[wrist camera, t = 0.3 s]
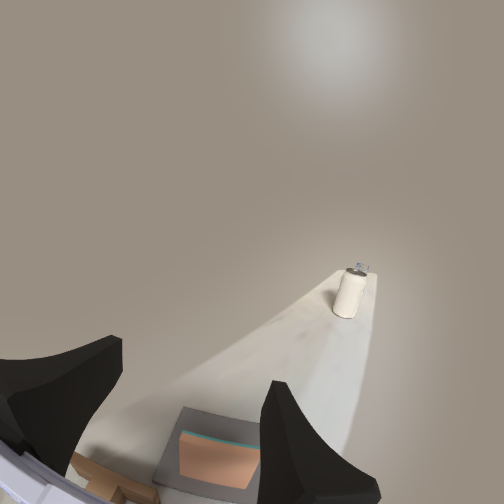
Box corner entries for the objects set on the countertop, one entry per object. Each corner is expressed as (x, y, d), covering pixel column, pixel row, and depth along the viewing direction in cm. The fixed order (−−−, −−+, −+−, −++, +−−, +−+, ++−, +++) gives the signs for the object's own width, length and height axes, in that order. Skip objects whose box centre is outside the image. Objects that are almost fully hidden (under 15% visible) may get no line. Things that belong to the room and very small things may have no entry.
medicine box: (360, 294, 85) (368, 270, 82) (348, 291, 86) (355, 266, 84) (362, 288, 92) (369, 265, 89) (350, 284, 93) (357, 262, 91)
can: (358, 316, 68) (372, 275, 65) (346, 321, 64) (361, 277, 61) (340, 306, 73) (352, 266, 70) (327, 310, 69) (340, 268, 66)
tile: (245, 489, 20) (261, 457, 17) (180, 474, 20) (179, 439, 18) (246, 480, 21) (262, 447, 19) (182, 466, 21) (182, 430, 19)
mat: (261, 506, 18) (263, 505, 18) (152, 481, 18) (152, 480, 18) (269, 427, 30) (270, 425, 30) (183, 408, 30) (183, 406, 30)
